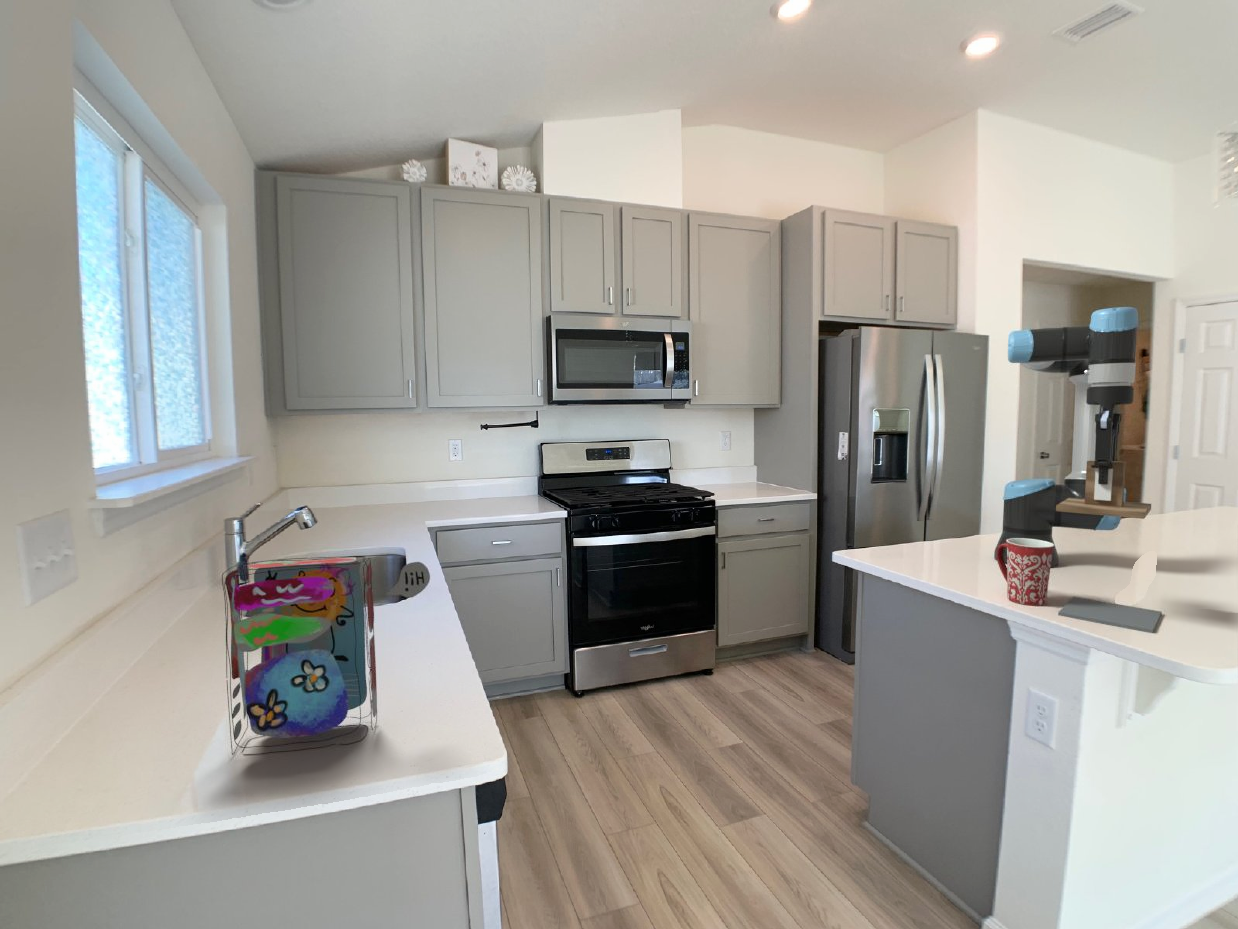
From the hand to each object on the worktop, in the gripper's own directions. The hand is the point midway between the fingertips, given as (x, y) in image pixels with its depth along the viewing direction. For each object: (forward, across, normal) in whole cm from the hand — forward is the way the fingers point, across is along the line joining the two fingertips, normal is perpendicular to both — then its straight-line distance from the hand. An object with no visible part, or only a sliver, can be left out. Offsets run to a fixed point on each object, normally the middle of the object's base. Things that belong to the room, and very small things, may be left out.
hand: (1103, 498), depth 127 cm
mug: (+25, 0, -14) cm, 28 cm away
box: (+24, +131, -66) cm, 149 cm away
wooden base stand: (+2, 0, 0) cm, 2 cm away
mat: (+24, 0, +2) cm, 24 cm away
